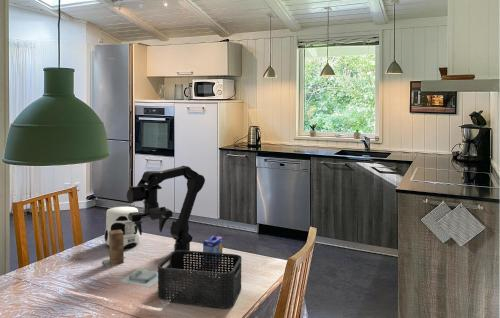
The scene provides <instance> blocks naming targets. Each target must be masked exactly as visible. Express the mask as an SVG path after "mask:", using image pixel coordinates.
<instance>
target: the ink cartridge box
mask: <svg viewBox="0 0 500 318" xmlns="http://www.w3.org/2000/svg"><path fill="white" fill-rule="evenodd" d="M202 242H203V243H202V252H212V253H223V248H224V247H223V244H224V237H223V236H219V233H216V234H214V235H211V236H210V237H209V238H207V239H205V240H203V241H202ZM203 257H204V256H203ZM206 257H207V256H206ZM209 257H210V256H209ZM215 258H217V257H215ZM219 258H220V257H219ZM203 259H204V258H203ZM209 260H210V259H209ZM212 260H214V259H212ZM203 262H204V261H203ZM206 262H207V261H206ZM209 262H210V261H209ZM215 263H217V262H215ZM218 263H220V262H218ZM203 264H204V263H203ZM209 265H210V264H209ZM212 265H213V264H212ZM206 267H207V266H206ZM209 267H210V266H209Z"/></svg>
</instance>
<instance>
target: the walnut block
mask: <svg viewBox="0 0 500 318" xmlns="http://www.w3.org/2000/svg"><path fill="white" fill-rule="evenodd" d="M108 247H109V249H108V250H109V253H108V254H109V259H110V263H111V264H112V265H111V266H113V265H118V264H123V263H125V261H124V259H125V258H124V257H125V255H124V254H125V253H124V252H125V251H124V248H125V247H123V231H122V230H112V231H109V246H108Z"/></svg>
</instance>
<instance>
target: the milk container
mask: <svg viewBox="0 0 500 318" xmlns="http://www.w3.org/2000/svg"><path fill="white" fill-rule="evenodd" d="M133 212H138V213H139V209H138V208H136V207H133V206H115V207H110V208H108V209H107V210H106V214H105V216H106V218H105V224H106V226H105V232H104V242H105V245H107V246H108V247H109V231H112V230H122V231H123V247H124V248H129V247H133V246H136V245H137V244H138V243H139V242H140V239H141V235H140V233H139V231H138V228H137V226H136V224H135V223H134V222H132V221H131V220H129V219H128V215H129V213H133Z"/></svg>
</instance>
